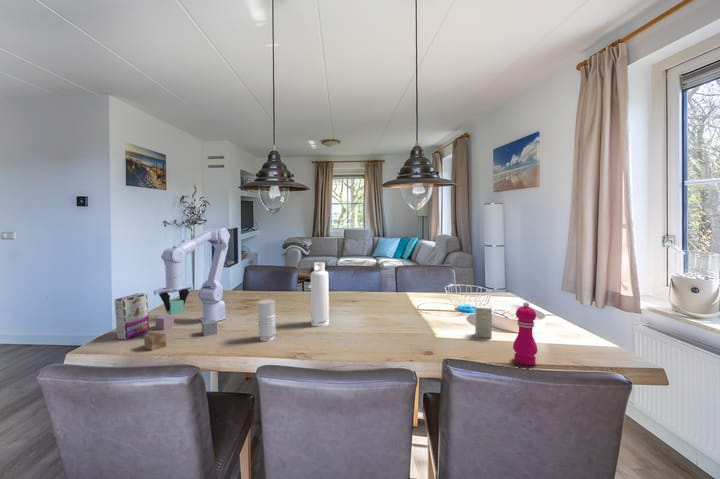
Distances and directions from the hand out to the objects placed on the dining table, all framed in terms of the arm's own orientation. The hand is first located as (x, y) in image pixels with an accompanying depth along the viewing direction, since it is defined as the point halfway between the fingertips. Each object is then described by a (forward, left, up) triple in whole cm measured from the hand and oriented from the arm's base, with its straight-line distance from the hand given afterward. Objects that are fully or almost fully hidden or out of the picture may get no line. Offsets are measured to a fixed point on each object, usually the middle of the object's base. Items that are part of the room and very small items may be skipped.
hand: (175, 309), depth 137 cm
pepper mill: (-63, +120, -11) cm, 136 cm away
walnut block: (+11, +10, -10) cm, 18 cm away
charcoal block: (-9, +11, -10) cm, 18 cm away
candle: (-21, +35, -11) cm, 42 cm away
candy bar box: (+12, -12, -11) cm, 20 cm away
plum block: (0, -12, -10) cm, 16 cm away
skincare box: (-78, +101, -11) cm, 128 cm away
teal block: (0, 0, -2) cm, 2 cm away
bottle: (-47, +38, -11) cm, 61 cm away
